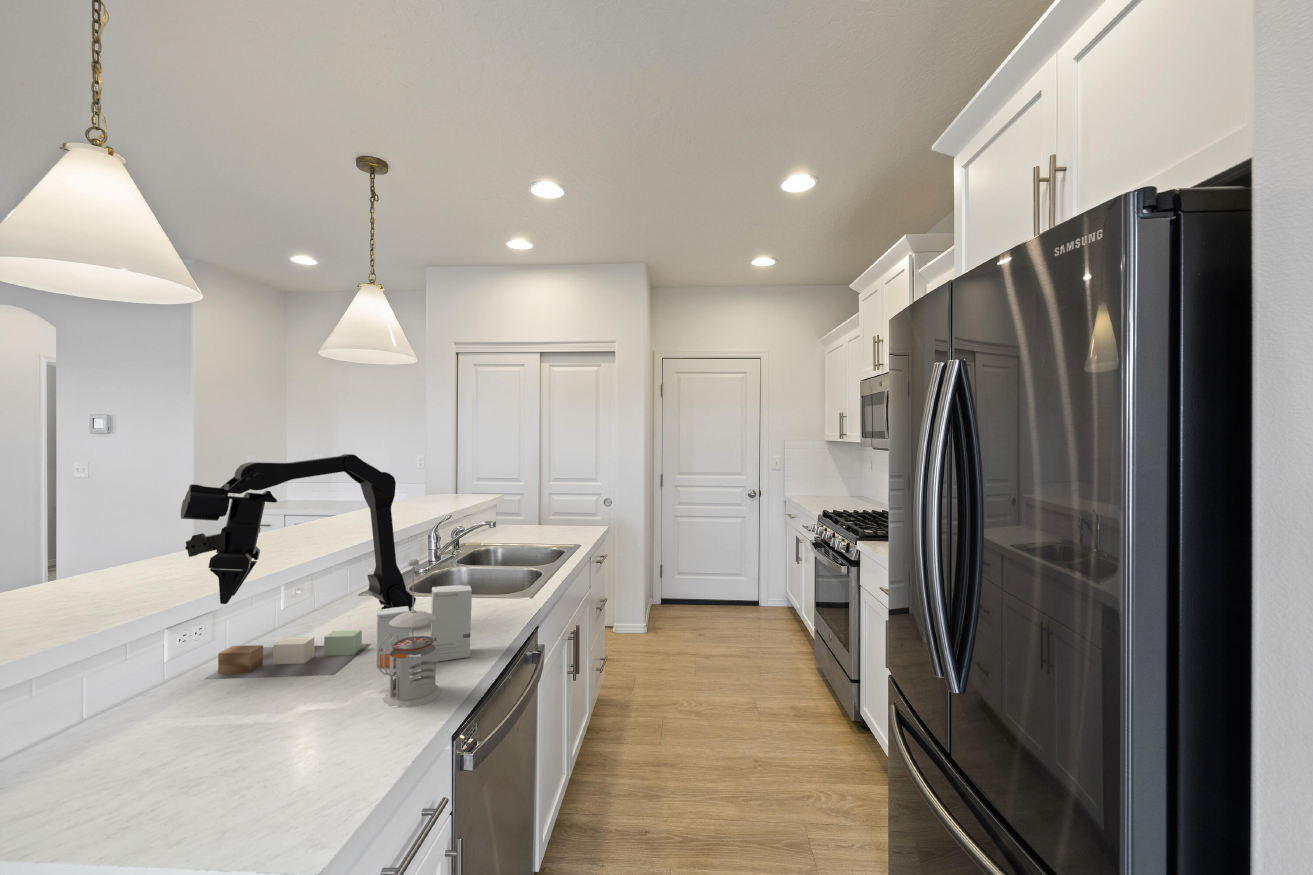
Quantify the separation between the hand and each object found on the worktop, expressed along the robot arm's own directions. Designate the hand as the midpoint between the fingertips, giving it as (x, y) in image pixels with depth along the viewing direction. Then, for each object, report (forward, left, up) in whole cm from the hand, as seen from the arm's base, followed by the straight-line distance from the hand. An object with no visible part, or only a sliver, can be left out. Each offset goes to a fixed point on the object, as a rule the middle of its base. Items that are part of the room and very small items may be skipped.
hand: (227, 599), depth 114 cm
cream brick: (-12, -2, -14) cm, 18 cm away
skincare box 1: (-33, +1, -15) cm, 36 cm away
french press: (-41, +15, -15) cm, 46 cm away
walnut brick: (-4, +2, -14) cm, 14 cm away
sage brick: (-20, -6, -14) cm, 25 cm away
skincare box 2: (-43, -5, -15) cm, 46 cm away
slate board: (-12, -2, -15) cm, 19 cm away
